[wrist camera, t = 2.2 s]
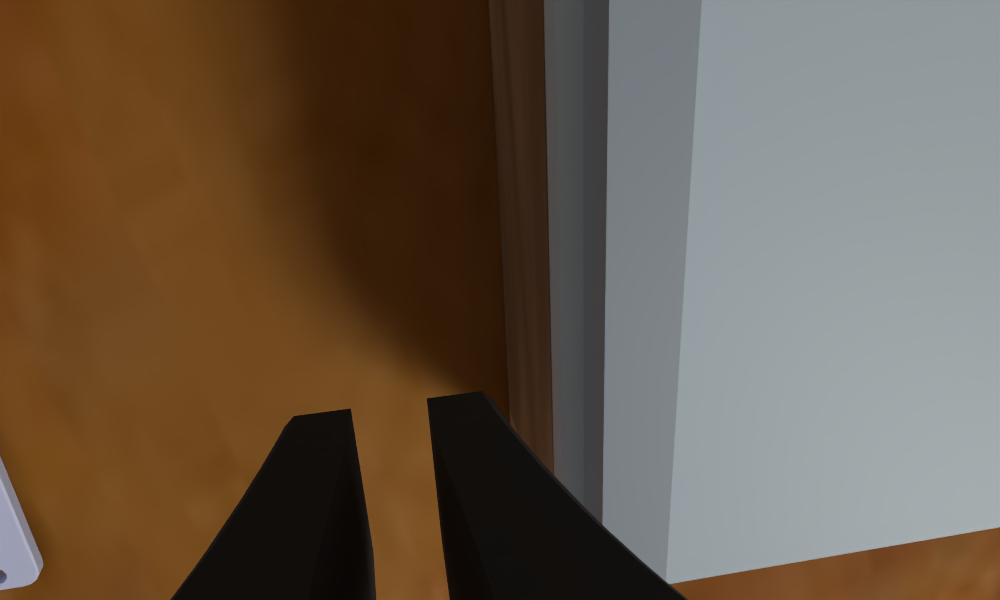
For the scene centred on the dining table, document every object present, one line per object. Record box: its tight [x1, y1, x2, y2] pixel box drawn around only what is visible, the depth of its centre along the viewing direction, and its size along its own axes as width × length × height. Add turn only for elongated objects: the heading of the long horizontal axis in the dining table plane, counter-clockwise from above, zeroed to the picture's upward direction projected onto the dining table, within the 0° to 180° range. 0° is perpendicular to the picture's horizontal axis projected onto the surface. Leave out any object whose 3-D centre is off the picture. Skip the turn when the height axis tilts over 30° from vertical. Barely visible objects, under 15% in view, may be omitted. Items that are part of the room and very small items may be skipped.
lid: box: [544, 0, 1000, 584], centre depth 13 cm, size 13×13×2 cm
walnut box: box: [489, 0, 554, 475], centre depth 16 cm, size 13×13×5 cm
